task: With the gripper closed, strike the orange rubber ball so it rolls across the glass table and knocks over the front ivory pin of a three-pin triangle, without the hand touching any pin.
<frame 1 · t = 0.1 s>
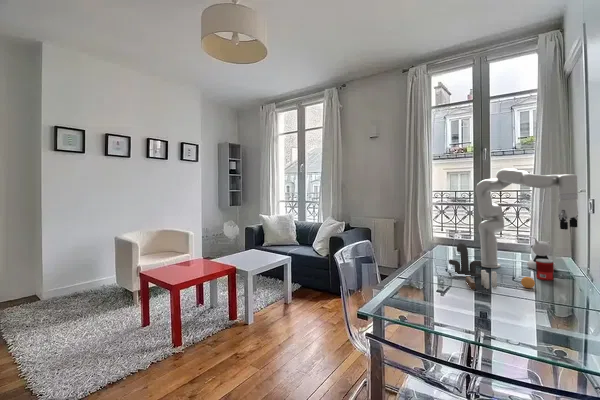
hand: (568, 228, 160), 31 cm above the table, tool pointing down, fingers open, 9 cm apart
right pin: (486, 288, 164), on the table
faucet: (463, 273, 192), on the table
left pin: (484, 285, 168), on the table
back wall: (470, 286, 168), on the table
ball: (527, 282, 160), on the table
canned food: (545, 279, 172), on the table
decorative figurine: (541, 268, 190), on the table
front pin: (494, 286, 165), on the table
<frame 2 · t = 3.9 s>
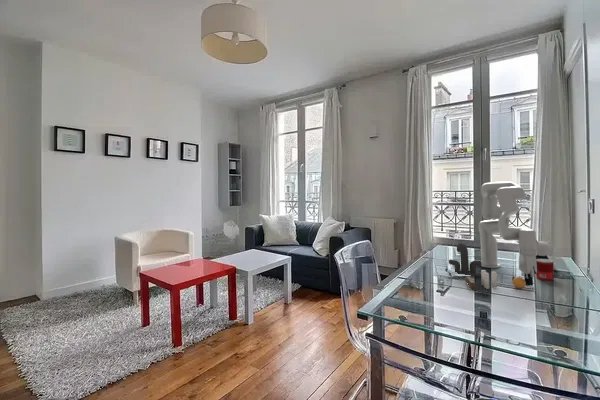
hand: (528, 285, 160), 2 cm above the table, tool pointing down, fingers closed
ball: (519, 282, 161), on the table
everything else where it was.
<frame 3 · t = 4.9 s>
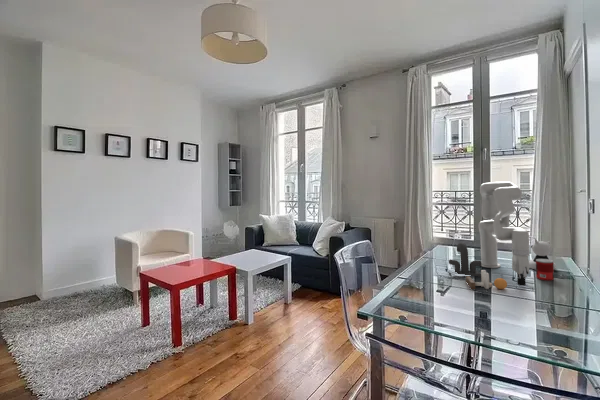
hand: (521, 285, 161), 2 cm above the table, tool pointing down, fingers closed
ball: (500, 283, 161), on the table
front pin: (491, 285, 165), point 1 cm above the table, tilted 90°
everything else where it was.
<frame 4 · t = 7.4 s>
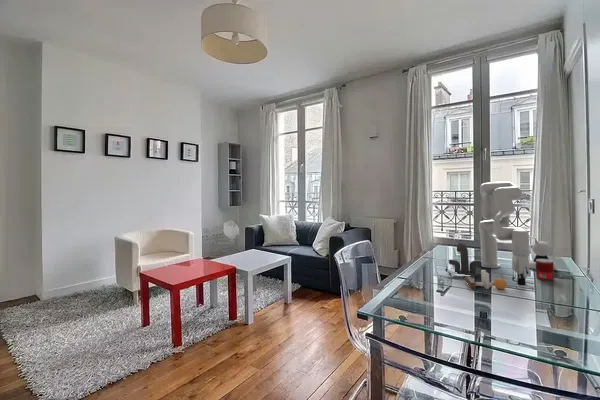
hand: (521, 285, 161), 2 cm above the table, tool pointing down, fingers closed
nothing on the table moved.
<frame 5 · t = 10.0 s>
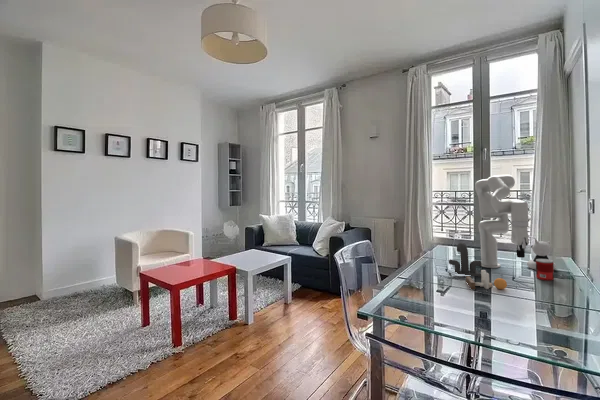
hand: (520, 257, 160), 17 cm above the table, tool pointing down, fingers closed
nothing on the table moved.
at the end: front pin tilted 90°; front pin never touched the robot; ball moved 14.5 cm from its start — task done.
